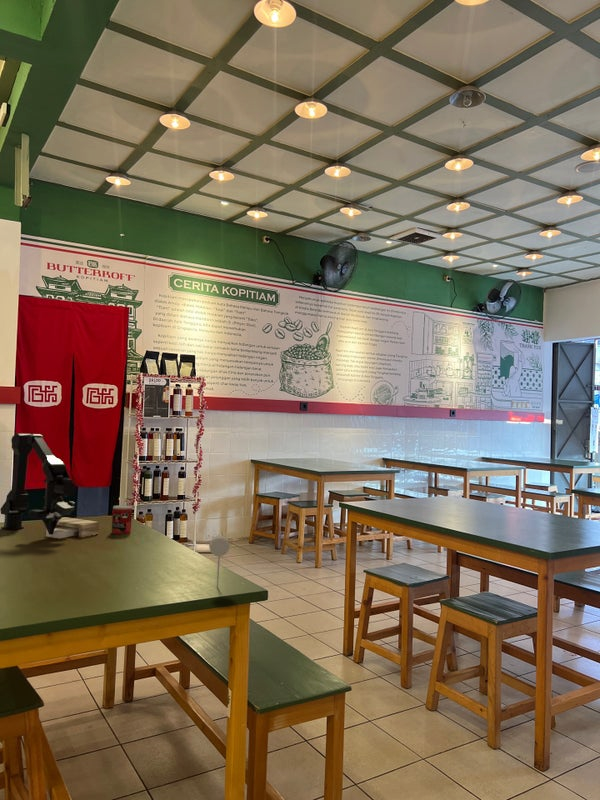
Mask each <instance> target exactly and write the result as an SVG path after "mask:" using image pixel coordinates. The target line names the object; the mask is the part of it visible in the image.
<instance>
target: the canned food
mask: <svg viewBox="0 0 600 800" xmlns="http://www.w3.org/2000/svg"><path fill="white" fill-rule="evenodd" d="M132 515H133V506H132V505H127V504H126V505H125V504H123V505H122V504H120V505H113V506H112V515H111V533H112V534H113V535H129V534H130V533H131V531H132V518H133V516H132Z"/></svg>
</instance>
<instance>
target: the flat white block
mask: <svg viewBox="0 0 600 800" xmlns="http://www.w3.org/2000/svg"><path fill="white" fill-rule="evenodd" d="M75 532H79V528H75V527H68V526H66V527H61V528H55V529H54V532H53V534H52V535H49V533H48V531H47V529H46V530H45V533H46V534H45V537H46V538H53V539H64V538H68V537H75V536H74V533H75Z"/></svg>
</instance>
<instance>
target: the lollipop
mask: <svg viewBox="0 0 600 800" xmlns="http://www.w3.org/2000/svg"><path fill="white" fill-rule="evenodd" d="M208 547H209V551H210V553H211V554H212V555H214V556H215V557H217V573H216V588H219V581H220V580H219V578H220V575H219V574H220V561H221V560H220V559H221V558H220V557H223V556H225V555H226V554H228V552H229V550H230V549H231V544H230V541H229V540H228V538H226V537H224V536H222V535H219V536H215V537H214V538H212V539H211V541H210V543H209V546H208Z"/></svg>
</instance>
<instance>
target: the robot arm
mask: <svg viewBox="0 0 600 800" xmlns="http://www.w3.org/2000/svg"><path fill="white" fill-rule="evenodd" d="M10 441H11V449H12V450H13V453H14V464H13V475H12V485H11V489H10V491H9V492H8V493H7V495H6V498H5V502H4V503H3V504H2V505H1V507H0V514H1V515H4V523H3V524H4V525H3V526H1V527H0V529H1V530H2V529H3V530H9V531H12V530H13V531H14V530H20V529H24V528H25V526H23V525H22V524H23V514H26V513H27V510H28V509H29V508H28V507H29V504H30V498H31V497H30V494H29V493H27V491H26V482H27V473H28V462H29V461H28V460H29V455H30V454H31V452H32V451H33V450H34V451H35V453H36V455H37V456H38V458H39V460H40V461H41V463H42V467H41V468H42V471H43V474H44V476H45V477H46V478H45V479H43V482H44V483H45V496H42V500H44V507H43V506H42V509H31V510H29V511H28V513H27V518H28V519H32V520H33V519H34V520H42V522H43V524H44V527H45V528H46V530H47V531H48V533H49V535H52V534H53V532H54V529H55V527H56V525H57V523H58V521H59V520H60V519H61V518H65V516H67V515H68V516H71V515H75V513H76V509H75V507H76V502H74V501H68V502H65V499H64V497H65V498H67V497H68V498H71V497H73V496H74V495H75V494H76V492H77V486H76V484H75V483H74V482H73V479H71V478H70V477H71V476H70V473H69V472H68V469H67V467H66V464H65V463H64V461H62V460H61V459H60V458H57V457H56V456H55V455H54V454H53V452H52V451H51V449H50V447H49V446H48V445H47V443H46V441H45V440H44V436H43V435H42V434H40V433H38V434H37V433H20V432H19V433H15V434H14V435H12V437H11V440H10Z"/></svg>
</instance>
